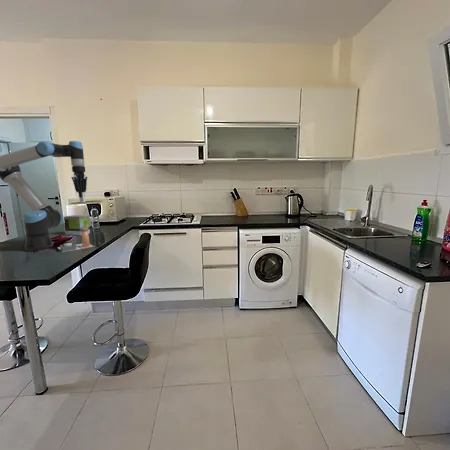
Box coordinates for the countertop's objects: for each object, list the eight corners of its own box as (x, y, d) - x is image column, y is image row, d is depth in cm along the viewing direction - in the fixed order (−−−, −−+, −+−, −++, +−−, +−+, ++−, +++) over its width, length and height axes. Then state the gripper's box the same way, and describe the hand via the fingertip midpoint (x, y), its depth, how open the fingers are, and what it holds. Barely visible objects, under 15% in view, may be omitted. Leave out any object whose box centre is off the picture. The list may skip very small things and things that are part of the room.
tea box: (90, 233, 215) (88, 215, 212) (80, 235, 205) (78, 216, 203) (75, 232, 219) (73, 214, 216) (65, 234, 209) (63, 216, 207)
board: (62, 253, 157) (62, 251, 157) (57, 249, 167) (57, 247, 167) (94, 248, 169) (94, 246, 169) (88, 244, 179) (88, 242, 179)
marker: (83, 247, 166) (81, 229, 164) (81, 246, 169) (79, 228, 167) (90, 246, 169) (88, 228, 167) (88, 244, 172) (86, 227, 170)
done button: (64, 249, 159) (64, 244, 159) (63, 247, 162) (62, 243, 162) (73, 247, 162) (72, 243, 161) (71, 246, 165) (70, 242, 165)
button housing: (63, 251, 157) (62, 247, 157) (60, 249, 162) (60, 245, 162) (76, 249, 162) (75, 245, 162) (73, 247, 167) (72, 243, 167)
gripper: (77, 165, 167) (81, 203, 171) (89, 166, 180) (93, 201, 184) (66, 165, 168) (70, 203, 172) (79, 166, 180) (83, 201, 185)
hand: (82, 202), depth 178 cm, fingers closed
